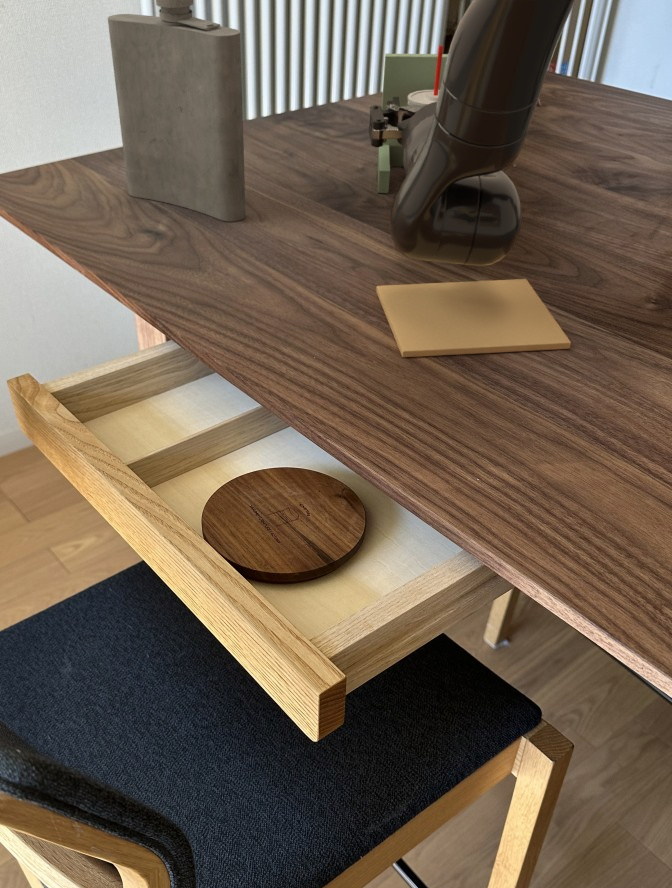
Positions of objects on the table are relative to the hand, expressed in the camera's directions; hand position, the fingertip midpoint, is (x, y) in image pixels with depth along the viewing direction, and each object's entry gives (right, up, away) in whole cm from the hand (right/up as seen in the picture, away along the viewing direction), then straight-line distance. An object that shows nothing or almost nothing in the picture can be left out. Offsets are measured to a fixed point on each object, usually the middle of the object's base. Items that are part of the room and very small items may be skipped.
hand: (433, 106), depth 95 cm
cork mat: (-1, -29, -21) cm, 36 cm away
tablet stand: (0, -6, +4) cm, 8 cm away
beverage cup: (0, -7, +5) cm, 8 cm away
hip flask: (-27, -11, 0) cm, 30 cm away
